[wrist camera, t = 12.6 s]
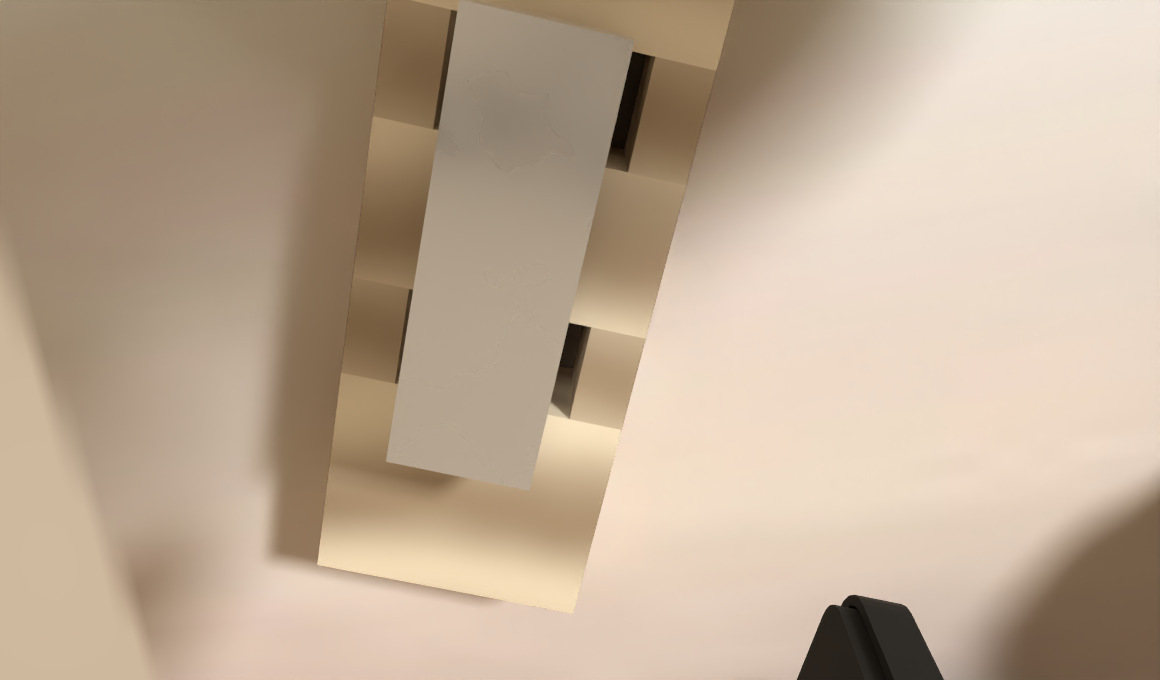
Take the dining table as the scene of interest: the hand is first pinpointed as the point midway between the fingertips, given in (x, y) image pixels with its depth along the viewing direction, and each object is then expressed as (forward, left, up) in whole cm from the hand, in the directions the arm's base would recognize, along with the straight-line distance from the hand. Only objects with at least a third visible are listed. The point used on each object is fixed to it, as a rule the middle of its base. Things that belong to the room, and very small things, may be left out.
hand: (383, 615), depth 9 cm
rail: (0, 0, -21) cm, 21 cm away
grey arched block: (0, 0, -21) cm, 21 cm away
